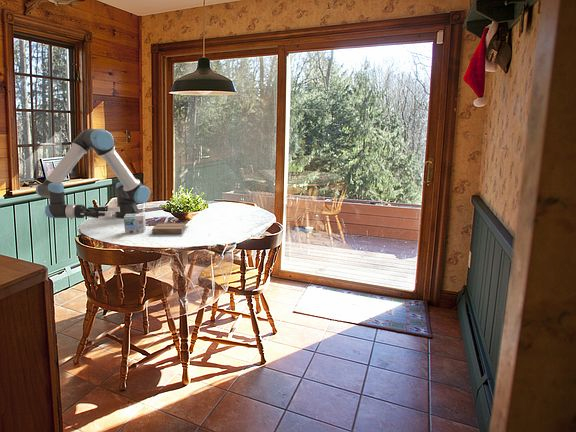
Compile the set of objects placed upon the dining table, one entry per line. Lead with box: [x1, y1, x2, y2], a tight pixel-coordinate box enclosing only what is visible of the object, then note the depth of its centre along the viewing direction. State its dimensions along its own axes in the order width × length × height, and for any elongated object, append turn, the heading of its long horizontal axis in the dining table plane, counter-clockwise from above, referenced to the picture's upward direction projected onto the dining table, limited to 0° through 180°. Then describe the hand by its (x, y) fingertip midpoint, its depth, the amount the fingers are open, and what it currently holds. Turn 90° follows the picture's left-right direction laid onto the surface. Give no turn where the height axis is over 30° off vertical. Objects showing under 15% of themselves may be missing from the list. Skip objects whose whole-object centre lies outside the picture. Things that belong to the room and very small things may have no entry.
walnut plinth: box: [151, 222, 187, 234], centre depth 235 cm, size 14×16×3 cm
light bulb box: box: [123, 213, 147, 235], centre depth 233 cm, size 11×7×11 cm, turn 101°
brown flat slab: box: [148, 225, 189, 238], centre depth 236 cm, size 24×18×1 cm
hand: (115, 211), depth 230 cm, fingers open, 13 cm apart
